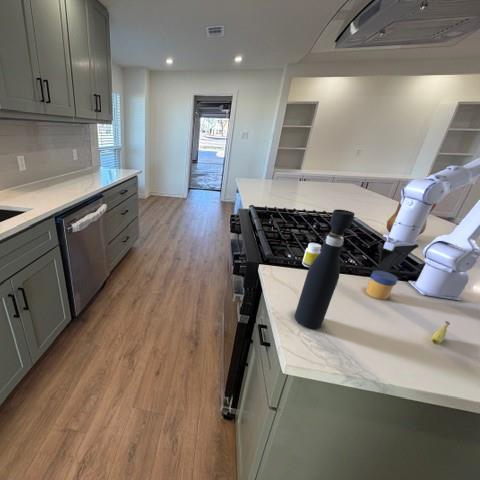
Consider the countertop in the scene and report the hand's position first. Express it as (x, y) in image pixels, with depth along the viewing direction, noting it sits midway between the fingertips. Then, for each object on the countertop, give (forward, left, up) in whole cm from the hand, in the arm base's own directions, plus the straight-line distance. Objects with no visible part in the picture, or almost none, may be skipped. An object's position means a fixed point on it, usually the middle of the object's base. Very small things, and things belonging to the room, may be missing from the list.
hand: (388, 266), depth 75 cm
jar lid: (0, 0, -3) cm, 3 cm away
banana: (-5, +18, -10) cm, 21 cm away
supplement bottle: (+16, -14, -10) cm, 23 cm away
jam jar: (0, 0, -10) cm, 10 cm away
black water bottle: (+24, +20, -10) cm, 33 cm away
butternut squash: (-35, -60, -10) cm, 70 cm away
